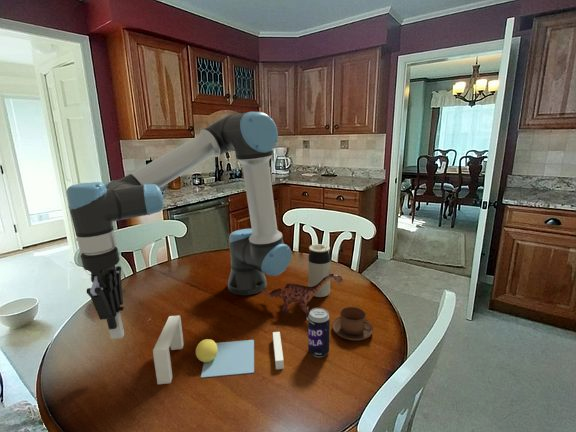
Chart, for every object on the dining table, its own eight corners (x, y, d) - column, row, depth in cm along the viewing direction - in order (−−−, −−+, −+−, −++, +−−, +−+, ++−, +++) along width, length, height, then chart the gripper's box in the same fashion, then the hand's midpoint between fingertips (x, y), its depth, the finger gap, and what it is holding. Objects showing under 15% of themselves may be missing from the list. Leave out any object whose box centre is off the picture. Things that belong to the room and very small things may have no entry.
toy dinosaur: (341, 325, 97) (342, 280, 93) (252, 310, 106) (250, 269, 102) (344, 311, 105) (346, 269, 101) (262, 298, 114) (260, 260, 110)
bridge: (183, 344, 89) (180, 315, 87) (170, 383, 75) (166, 349, 73) (172, 345, 89) (169, 316, 86) (157, 384, 75) (152, 350, 72)
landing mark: (253, 340, 90) (253, 339, 90) (254, 372, 78) (254, 372, 78) (208, 344, 89) (208, 343, 89) (200, 377, 76) (200, 377, 76)
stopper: (279, 339, 90) (279, 331, 90) (283, 368, 79) (283, 360, 78) (273, 339, 90) (272, 332, 90) (275, 369, 79) (275, 360, 78)
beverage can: (306, 346, 87) (306, 307, 84) (326, 344, 88) (327, 306, 85) (309, 360, 82) (309, 319, 79) (331, 358, 82) (331, 318, 79)
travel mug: (305, 295, 115) (305, 249, 111) (312, 286, 122) (312, 242, 118) (326, 299, 112) (327, 252, 108) (332, 289, 119) (332, 245, 115)
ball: (193, 346, 84) (211, 356, 86) (189, 360, 79) (208, 370, 80) (205, 331, 84) (223, 341, 85) (202, 344, 78) (220, 354, 79)
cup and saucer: (374, 324, 97) (375, 306, 96) (371, 348, 86) (372, 328, 85) (336, 317, 101) (336, 300, 99) (328, 340, 90) (328, 321, 88)
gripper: (95, 241, 78) (113, 323, 85) (65, 262, 66) (89, 356, 72) (126, 239, 79) (141, 320, 85) (102, 259, 67) (122, 352, 73)
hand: (117, 336), depth 79 cm, fingers closed
